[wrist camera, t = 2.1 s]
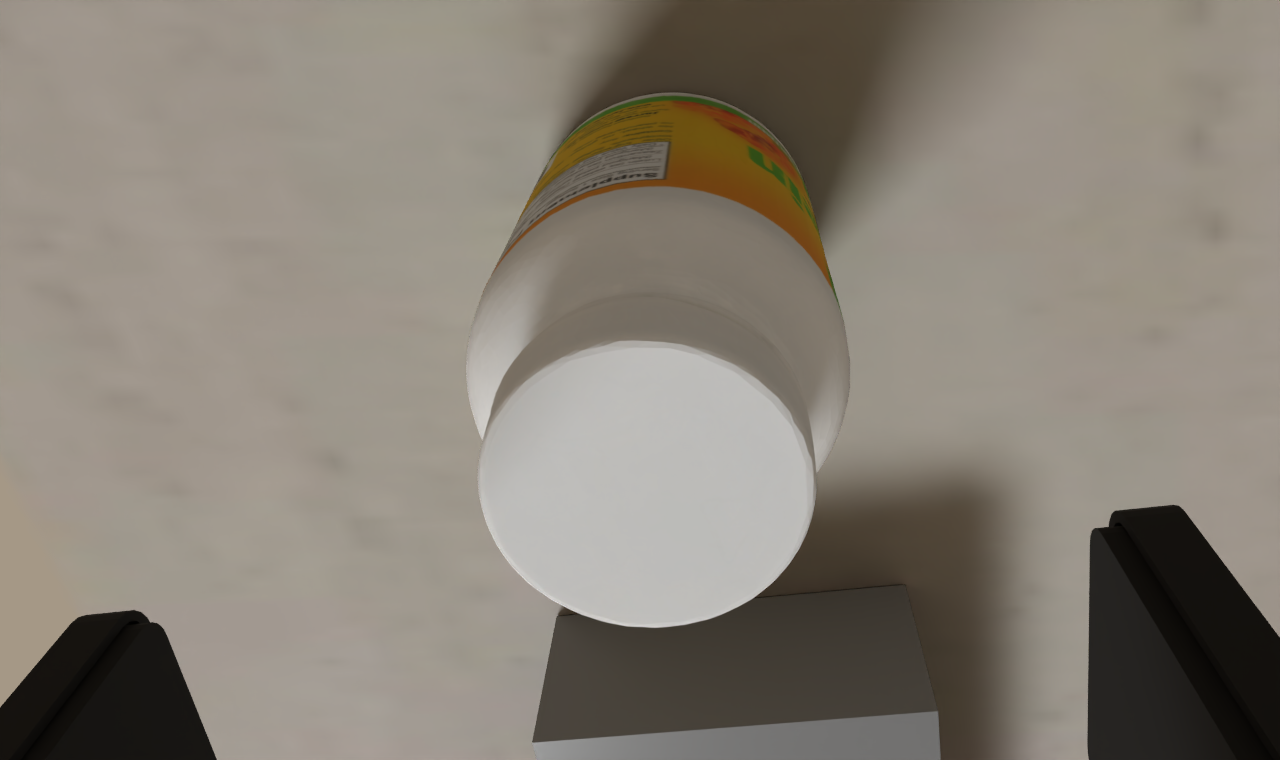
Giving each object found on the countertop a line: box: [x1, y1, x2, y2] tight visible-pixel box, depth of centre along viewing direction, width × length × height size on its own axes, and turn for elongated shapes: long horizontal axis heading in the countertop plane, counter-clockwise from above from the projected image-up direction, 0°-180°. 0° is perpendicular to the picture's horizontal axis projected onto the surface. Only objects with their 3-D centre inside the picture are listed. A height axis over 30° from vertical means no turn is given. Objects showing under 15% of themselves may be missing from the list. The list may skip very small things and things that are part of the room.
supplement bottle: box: [466, 92, 850, 628], centre depth 17 cm, size 5×5×10 cm
